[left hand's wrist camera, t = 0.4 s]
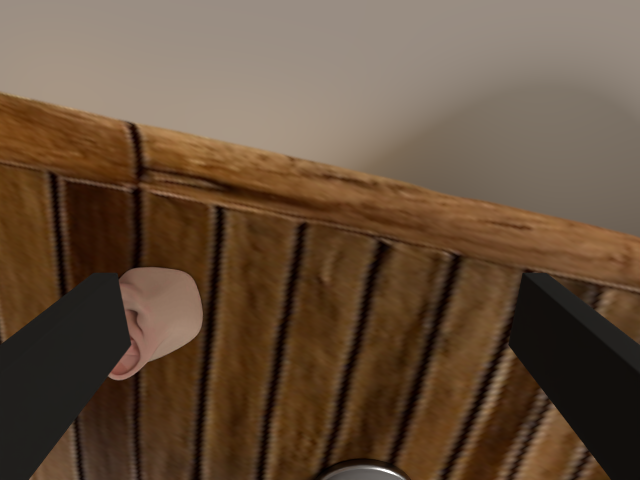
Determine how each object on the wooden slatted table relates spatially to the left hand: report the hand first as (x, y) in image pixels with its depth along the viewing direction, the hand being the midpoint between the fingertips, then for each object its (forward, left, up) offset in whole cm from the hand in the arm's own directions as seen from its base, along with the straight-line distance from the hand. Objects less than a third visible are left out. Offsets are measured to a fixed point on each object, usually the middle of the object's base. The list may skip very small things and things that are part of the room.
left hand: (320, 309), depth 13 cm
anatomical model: (-19, +17, -28) cm, 38 cm away
